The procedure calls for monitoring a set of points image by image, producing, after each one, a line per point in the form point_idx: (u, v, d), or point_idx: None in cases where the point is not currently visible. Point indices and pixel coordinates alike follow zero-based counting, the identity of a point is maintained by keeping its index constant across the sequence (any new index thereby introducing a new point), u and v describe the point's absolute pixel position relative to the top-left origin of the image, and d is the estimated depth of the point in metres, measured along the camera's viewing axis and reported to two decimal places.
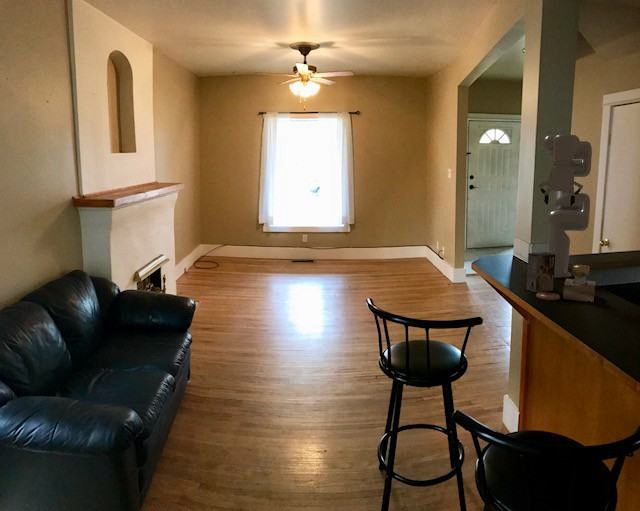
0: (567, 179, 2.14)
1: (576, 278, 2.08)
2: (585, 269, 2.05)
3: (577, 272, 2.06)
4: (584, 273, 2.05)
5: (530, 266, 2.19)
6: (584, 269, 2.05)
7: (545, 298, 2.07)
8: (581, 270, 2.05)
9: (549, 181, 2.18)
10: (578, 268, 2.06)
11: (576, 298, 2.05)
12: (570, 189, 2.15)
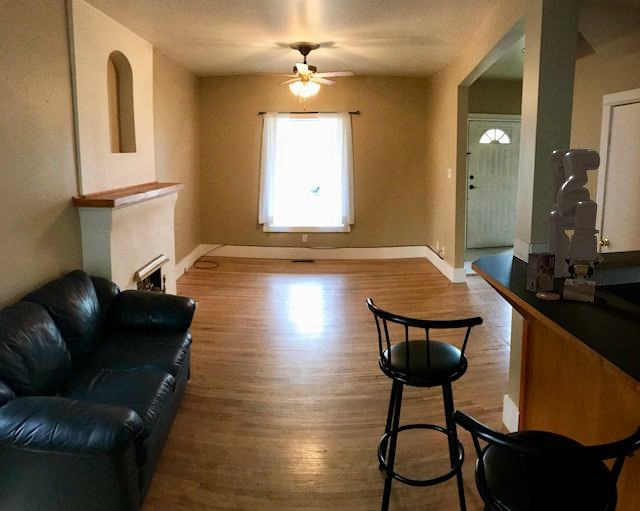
0: (590, 248, 2.03)
1: (576, 278, 2.08)
2: (585, 269, 2.05)
3: (577, 272, 2.06)
4: (584, 273, 2.05)
5: (530, 266, 2.19)
6: (584, 269, 2.05)
7: (545, 298, 2.07)
8: (581, 270, 2.05)
9: (570, 249, 2.06)
10: (578, 268, 2.06)
11: (576, 298, 2.05)
12: (593, 259, 2.03)
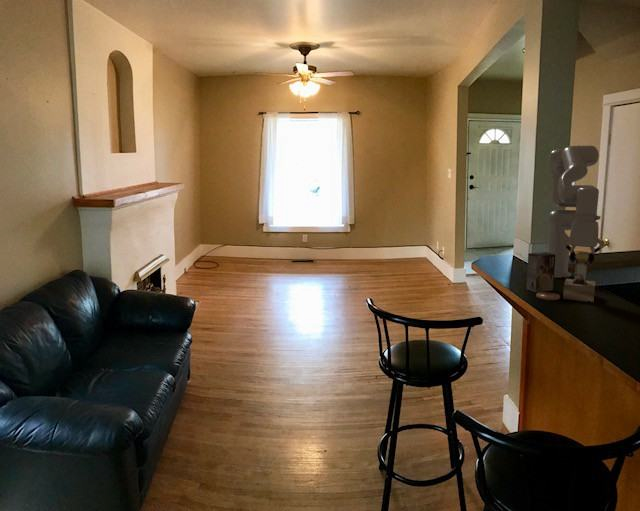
0: (591, 235, 2.02)
1: (577, 264, 2.07)
2: (586, 255, 2.04)
3: (578, 258, 2.05)
4: (585, 259, 2.04)
5: (530, 266, 2.19)
6: (585, 255, 2.04)
7: (545, 298, 2.07)
8: (582, 256, 2.04)
9: (571, 236, 2.06)
10: (579, 254, 2.05)
11: (576, 298, 2.05)
12: (594, 245, 2.02)
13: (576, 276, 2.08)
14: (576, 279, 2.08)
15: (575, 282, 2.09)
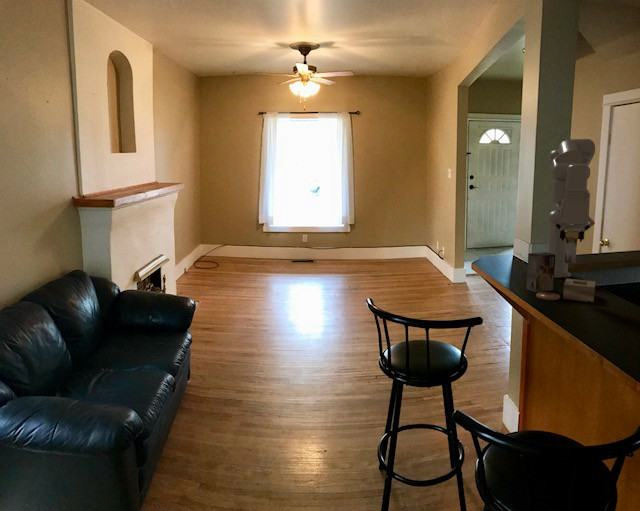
0: (581, 212, 2.00)
1: (567, 243, 2.05)
2: (576, 233, 2.02)
3: (568, 237, 2.03)
4: (575, 237, 2.02)
5: (530, 266, 2.19)
6: (575, 233, 2.02)
7: (545, 298, 2.07)
8: (572, 234, 2.02)
9: (561, 214, 2.04)
10: (569, 232, 2.03)
11: (576, 298, 2.05)
12: (584, 223, 2.00)
13: (566, 255, 2.06)
14: (566, 258, 2.06)
15: (565, 261, 2.07)
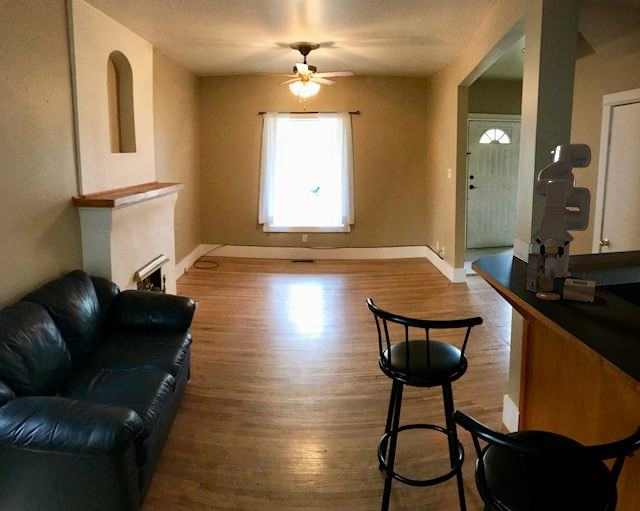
0: (560, 228, 2.01)
1: (547, 258, 2.06)
2: (555, 249, 2.03)
3: (547, 252, 2.05)
4: (554, 253, 2.03)
5: (530, 266, 2.19)
6: (554, 249, 2.03)
7: (545, 298, 2.07)
8: (551, 250, 2.04)
9: (541, 229, 2.05)
10: (548, 248, 2.04)
11: (576, 298, 2.05)
12: (563, 238, 2.02)
13: (546, 270, 2.07)
14: (546, 273, 2.07)
15: (545, 276, 2.08)
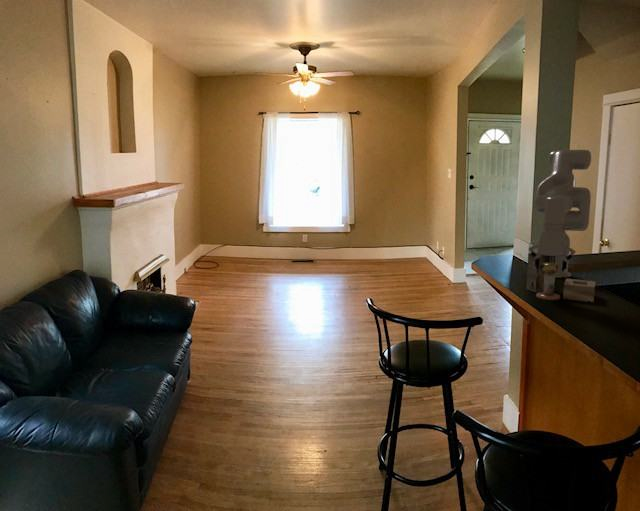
0: (559, 244, 2.03)
1: (545, 276, 2.08)
2: (554, 267, 2.05)
3: (546, 270, 2.06)
4: (553, 271, 2.05)
5: (530, 266, 2.19)
6: (553, 267, 2.05)
7: (545, 298, 2.07)
8: (550, 268, 2.05)
9: (540, 245, 2.06)
10: (547, 266, 2.06)
11: (576, 298, 2.05)
12: (562, 254, 2.03)
13: (545, 287, 2.09)
14: (545, 290, 2.09)
15: (544, 293, 2.10)
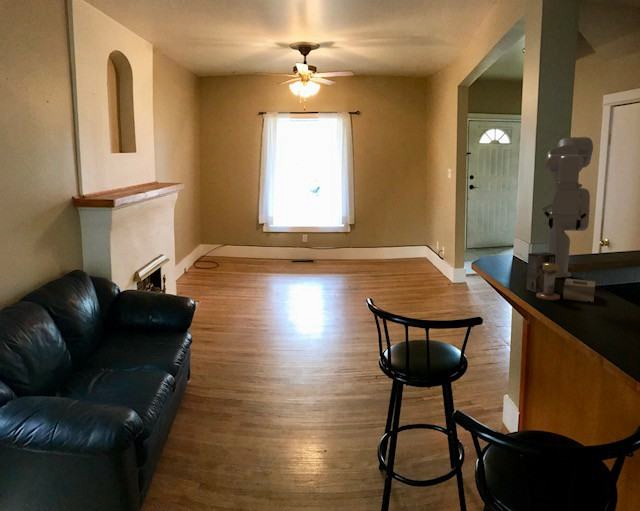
0: (572, 203, 2.03)
1: (545, 276, 2.08)
2: (554, 267, 2.05)
3: (546, 270, 2.06)
4: (553, 271, 2.05)
5: (530, 266, 2.19)
6: (553, 267, 2.05)
7: (545, 298, 2.07)
8: (550, 268, 2.05)
9: (553, 204, 2.07)
10: (547, 266, 2.06)
11: (576, 298, 2.05)
12: (576, 213, 2.03)
13: (545, 287, 2.09)
14: (545, 290, 2.09)
15: (544, 293, 2.10)
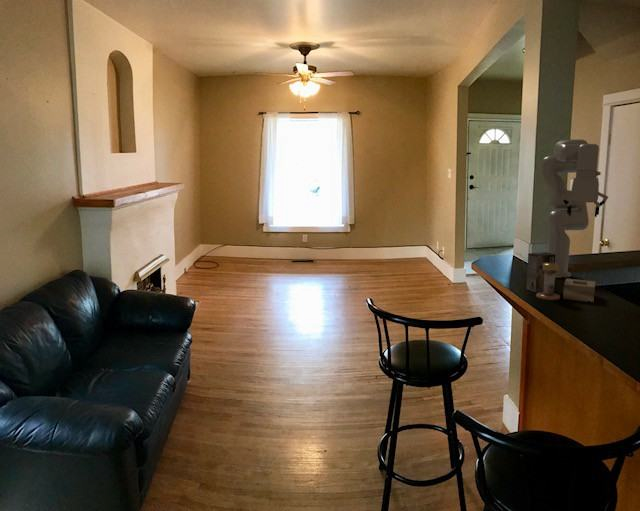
0: (591, 190, 2.08)
1: (545, 276, 2.08)
2: (554, 267, 2.05)
3: (546, 270, 2.06)
4: (553, 271, 2.05)
5: (530, 266, 2.19)
6: (553, 267, 2.05)
7: (545, 298, 2.07)
8: (550, 268, 2.05)
9: (572, 192, 2.11)
10: (547, 266, 2.06)
11: (576, 298, 2.05)
12: (595, 200, 2.08)
13: (545, 287, 2.09)
14: (545, 290, 2.09)
15: (544, 293, 2.10)
